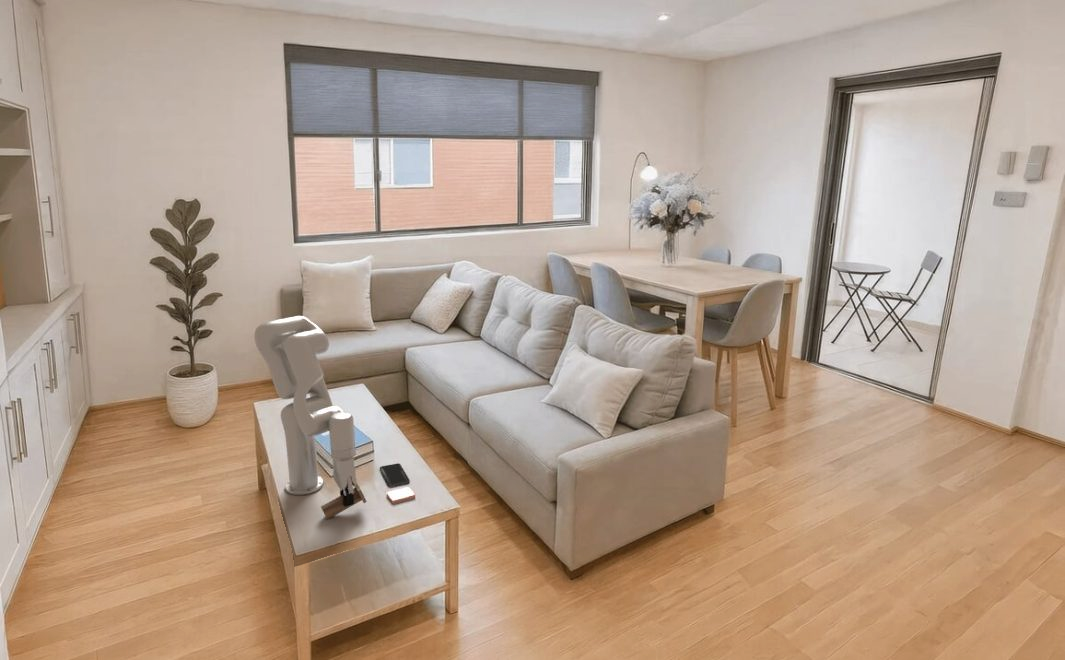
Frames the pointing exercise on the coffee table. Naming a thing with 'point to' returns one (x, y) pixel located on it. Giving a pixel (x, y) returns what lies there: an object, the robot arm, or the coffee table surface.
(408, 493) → the tile
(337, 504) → the post on base stand
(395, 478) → the phone
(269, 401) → the coffee table surface
